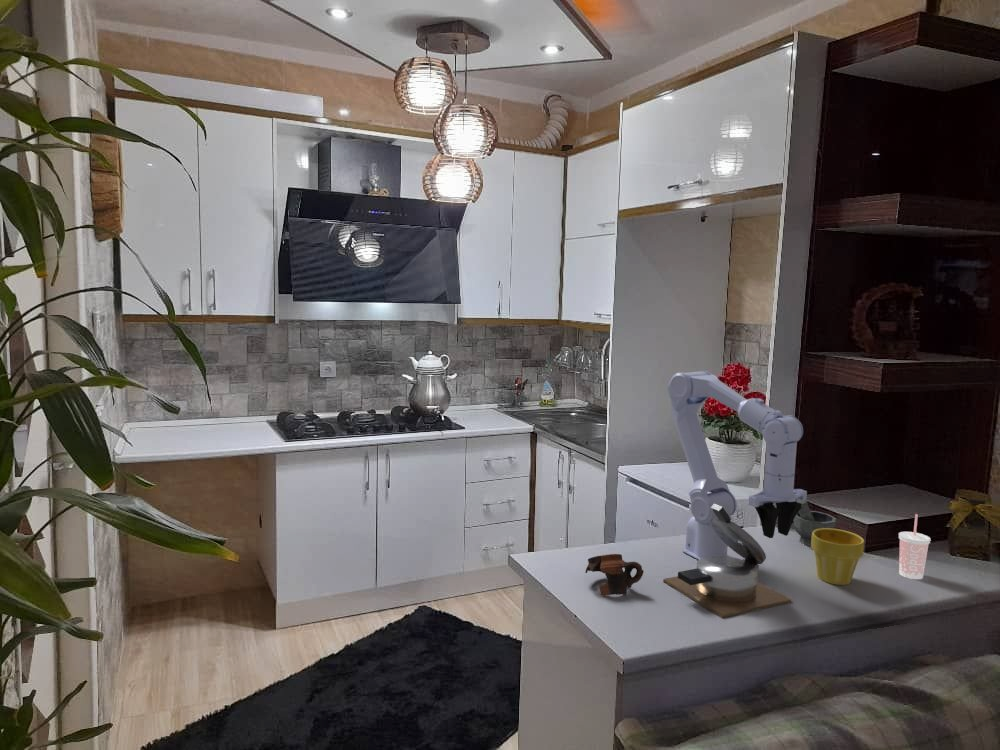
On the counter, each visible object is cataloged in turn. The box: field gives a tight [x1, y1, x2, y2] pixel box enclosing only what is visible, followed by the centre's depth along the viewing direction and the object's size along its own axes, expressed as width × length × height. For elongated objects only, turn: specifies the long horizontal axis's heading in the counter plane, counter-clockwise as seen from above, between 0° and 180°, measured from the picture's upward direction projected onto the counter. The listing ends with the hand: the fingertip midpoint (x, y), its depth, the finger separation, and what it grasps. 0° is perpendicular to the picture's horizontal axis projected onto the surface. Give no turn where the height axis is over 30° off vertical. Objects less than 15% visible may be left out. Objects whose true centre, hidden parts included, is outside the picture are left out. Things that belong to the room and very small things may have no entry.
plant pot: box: [810, 528, 865, 586], centre depth 153 cm, size 10×10×10 cm
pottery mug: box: [584, 553, 645, 596], centre depth 147 cm, size 12×10×8 cm
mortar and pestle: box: [792, 499, 837, 547], centre depth 174 cm, size 11×9×12 cm
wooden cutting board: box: [662, 556, 793, 619], centre depth 145 cm, size 18×20×5 cm
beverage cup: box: [898, 513, 932, 580], centre depth 156 cm, size 6×6×14 cm
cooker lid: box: [711, 504, 767, 565], centre depth 145 cm, size 17×13×1 cm
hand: (775, 535), depth 150 cm, fingers open, 4 cm apart
